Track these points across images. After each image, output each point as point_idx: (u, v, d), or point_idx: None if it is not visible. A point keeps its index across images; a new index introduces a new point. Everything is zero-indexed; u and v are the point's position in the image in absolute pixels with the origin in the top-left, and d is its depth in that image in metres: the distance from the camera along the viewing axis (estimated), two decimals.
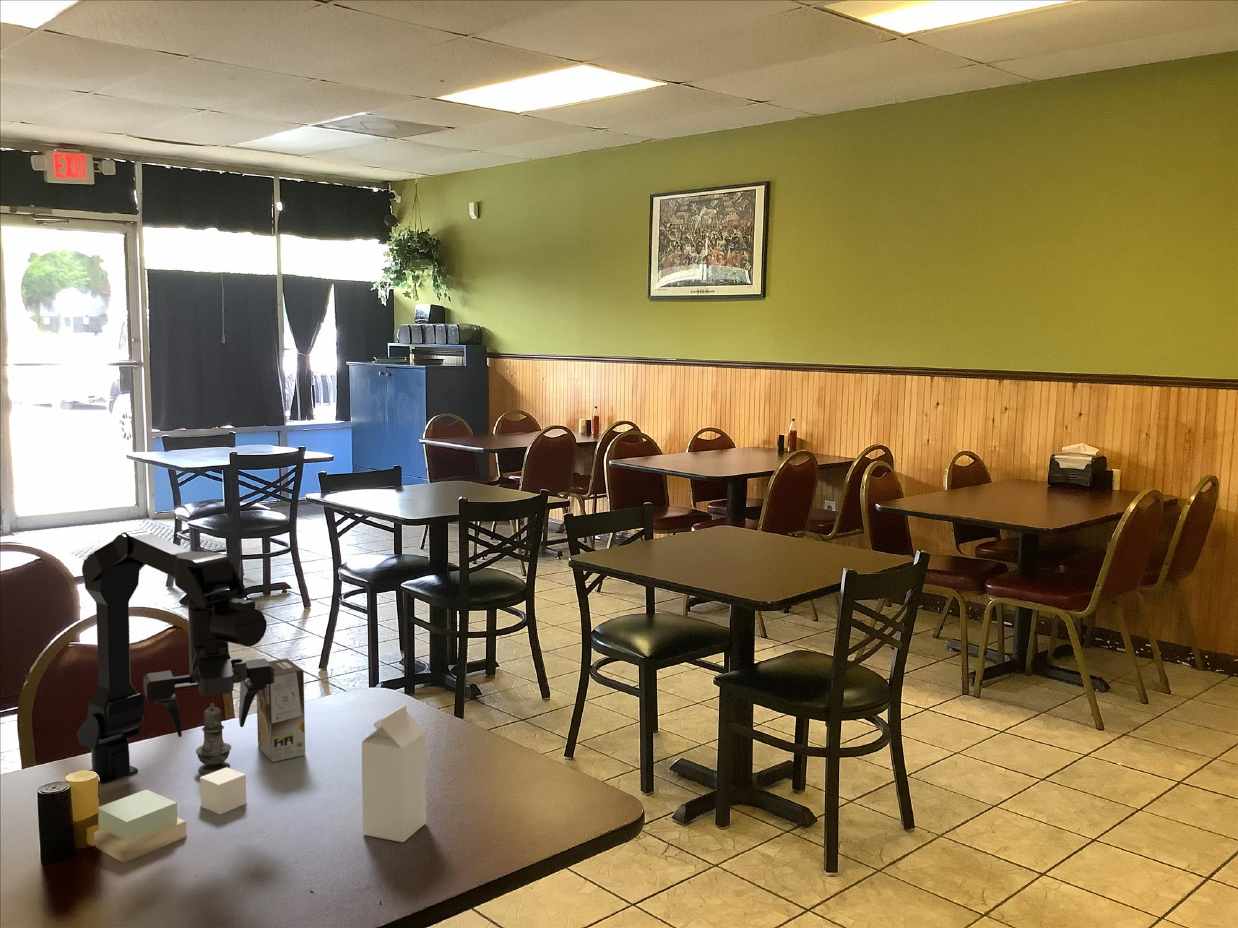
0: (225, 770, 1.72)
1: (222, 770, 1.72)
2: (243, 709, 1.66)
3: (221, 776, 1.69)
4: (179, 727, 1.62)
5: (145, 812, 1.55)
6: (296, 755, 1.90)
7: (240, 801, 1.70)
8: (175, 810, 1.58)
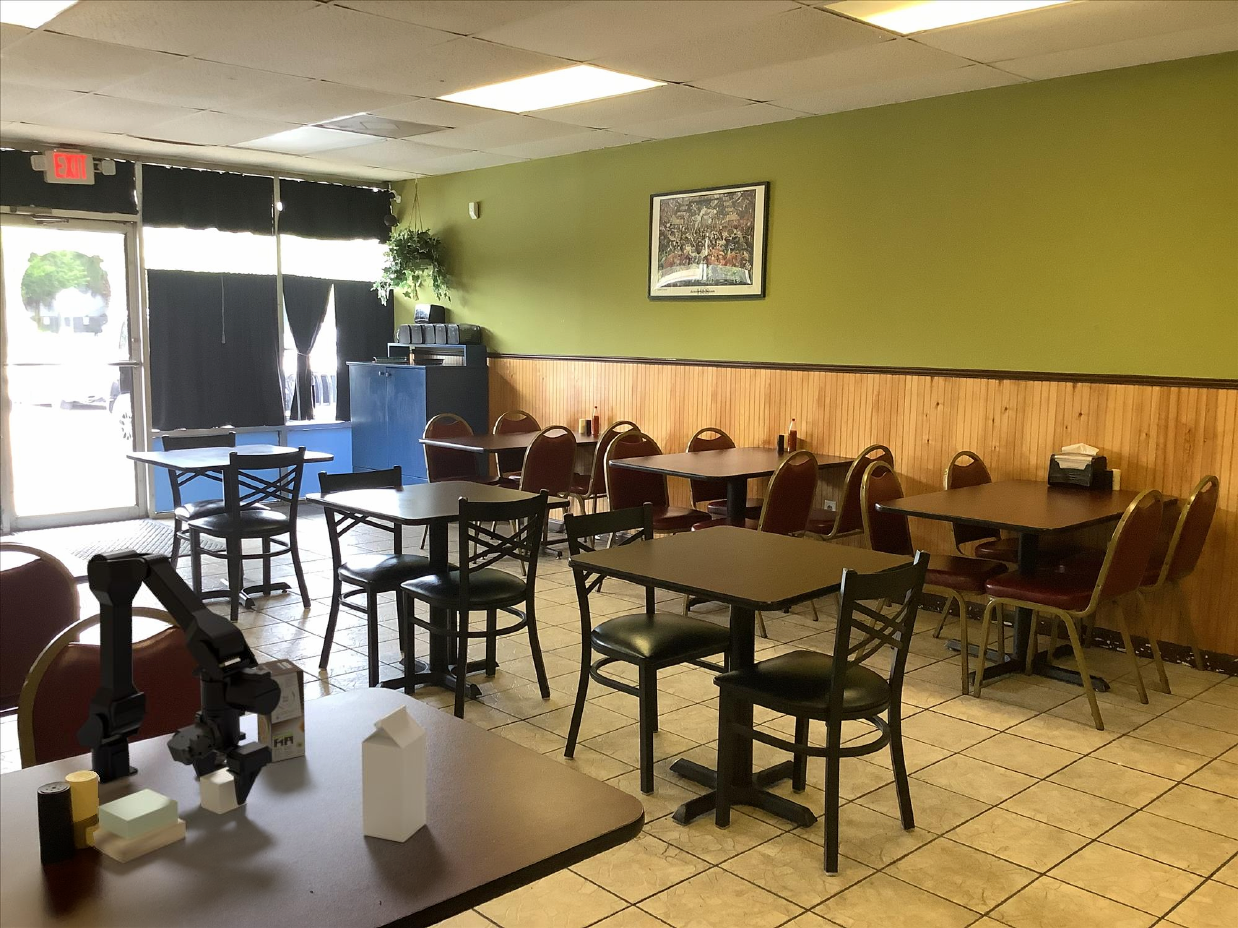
0: (225, 770, 1.72)
1: (222, 770, 1.72)
2: (235, 788, 1.66)
3: (221, 776, 1.69)
4: None
5: (145, 811, 1.55)
6: (296, 755, 1.90)
7: None
8: (176, 809, 1.59)
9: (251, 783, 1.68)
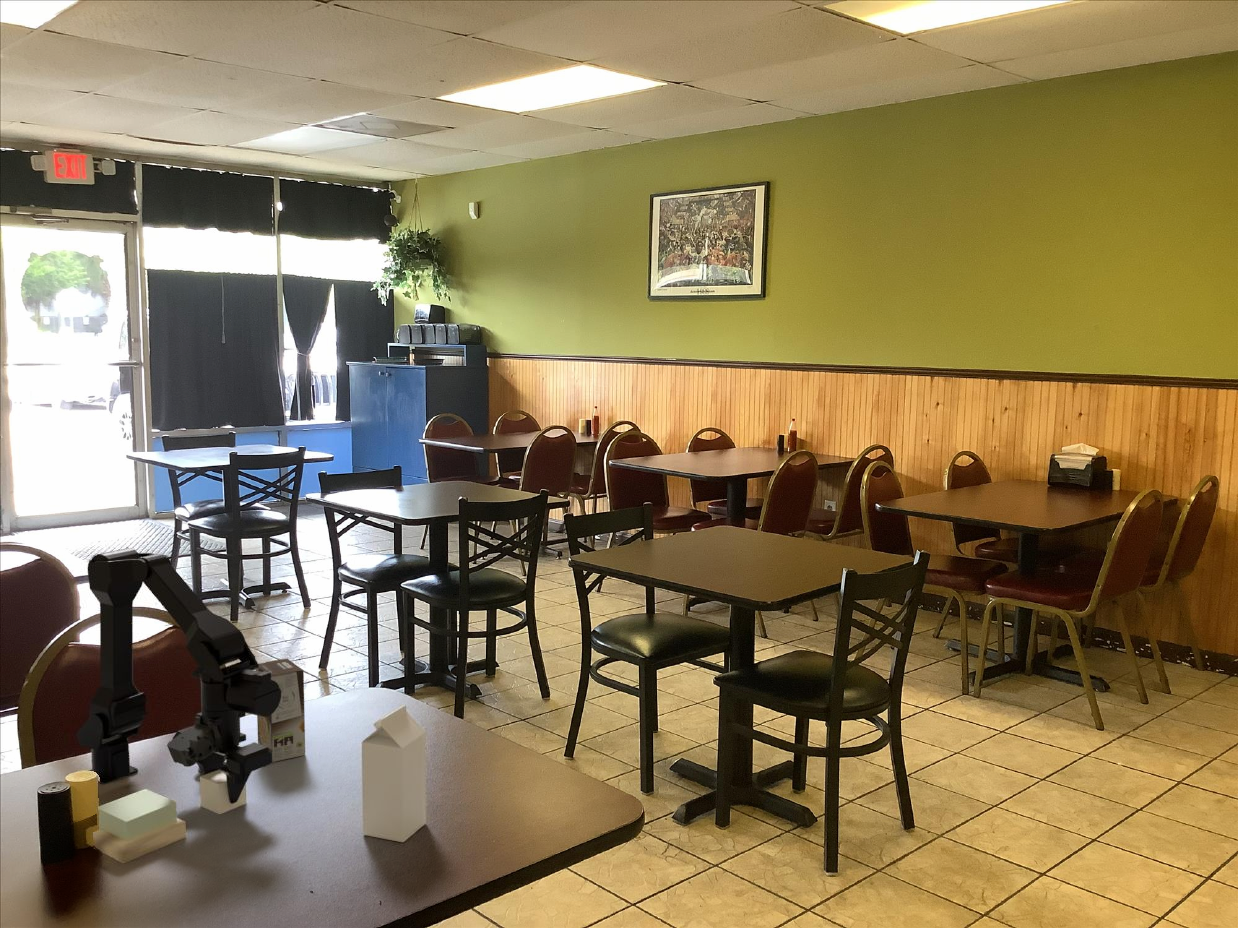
0: None
1: None
2: (227, 786, 1.67)
3: (221, 776, 1.69)
4: None
5: (144, 811, 1.55)
6: (296, 755, 1.90)
7: (240, 800, 1.70)
8: (174, 810, 1.59)
9: (244, 781, 1.69)
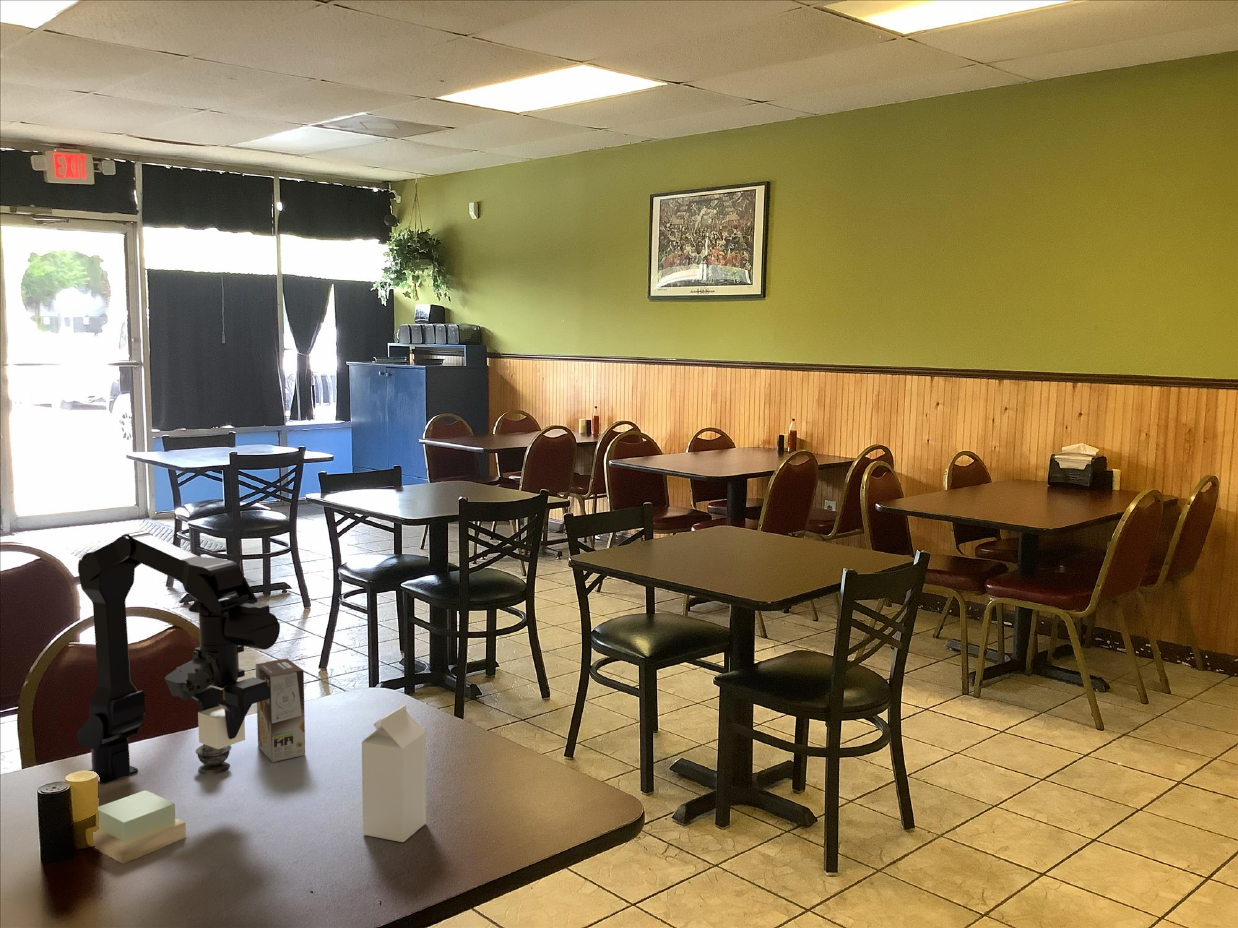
0: None
1: (220, 706, 1.71)
2: (226, 721, 1.66)
3: (219, 712, 1.68)
4: None
5: (142, 812, 1.55)
6: (296, 755, 1.90)
7: (239, 737, 1.69)
8: (173, 811, 1.58)
9: (242, 717, 1.67)
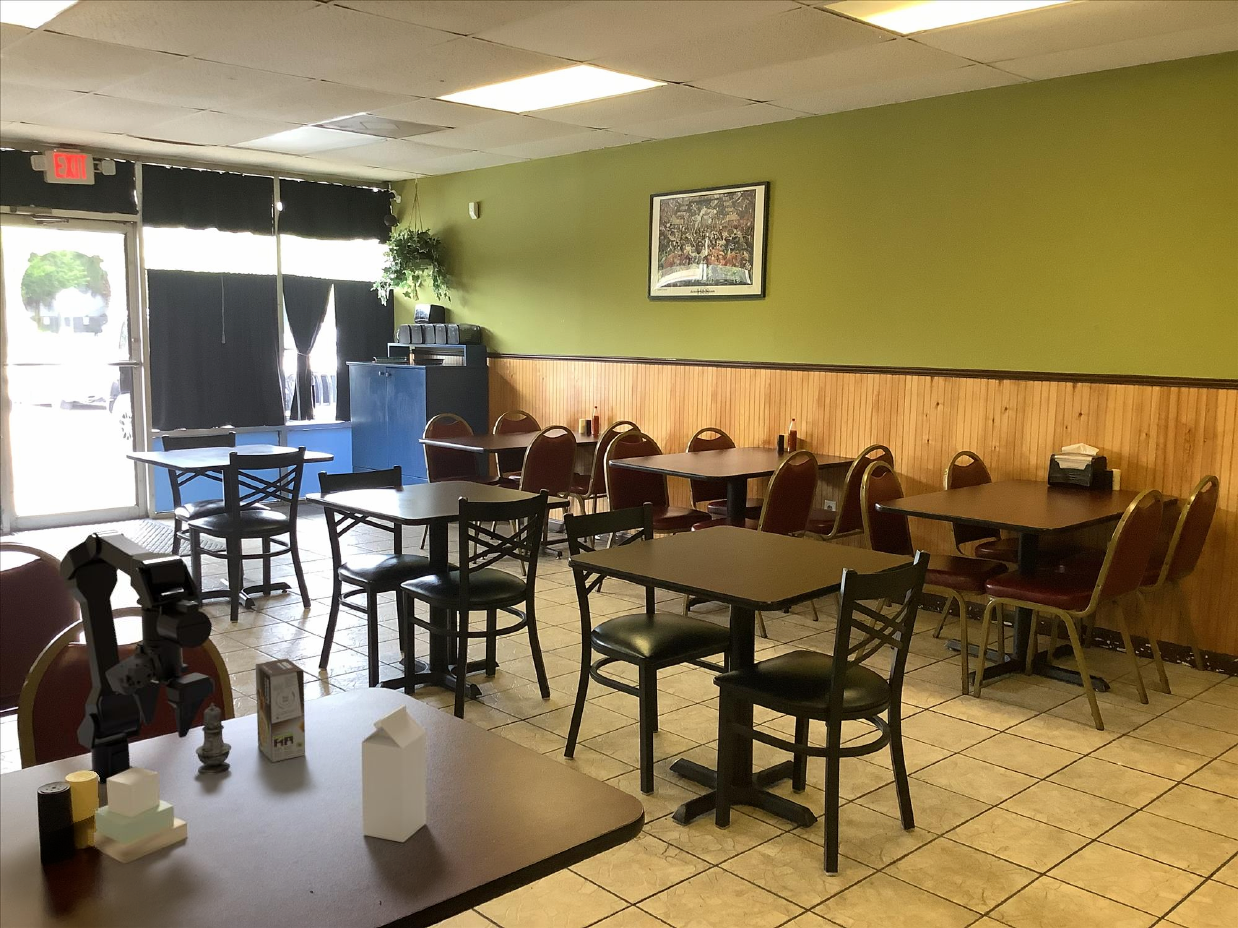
0: (134, 770, 1.58)
1: (131, 770, 1.58)
2: (176, 719, 1.63)
3: (131, 776, 1.56)
4: (143, 715, 1.69)
5: (141, 815, 1.54)
6: (296, 755, 1.90)
7: (153, 802, 1.57)
8: (172, 813, 1.58)
9: (193, 715, 1.65)
